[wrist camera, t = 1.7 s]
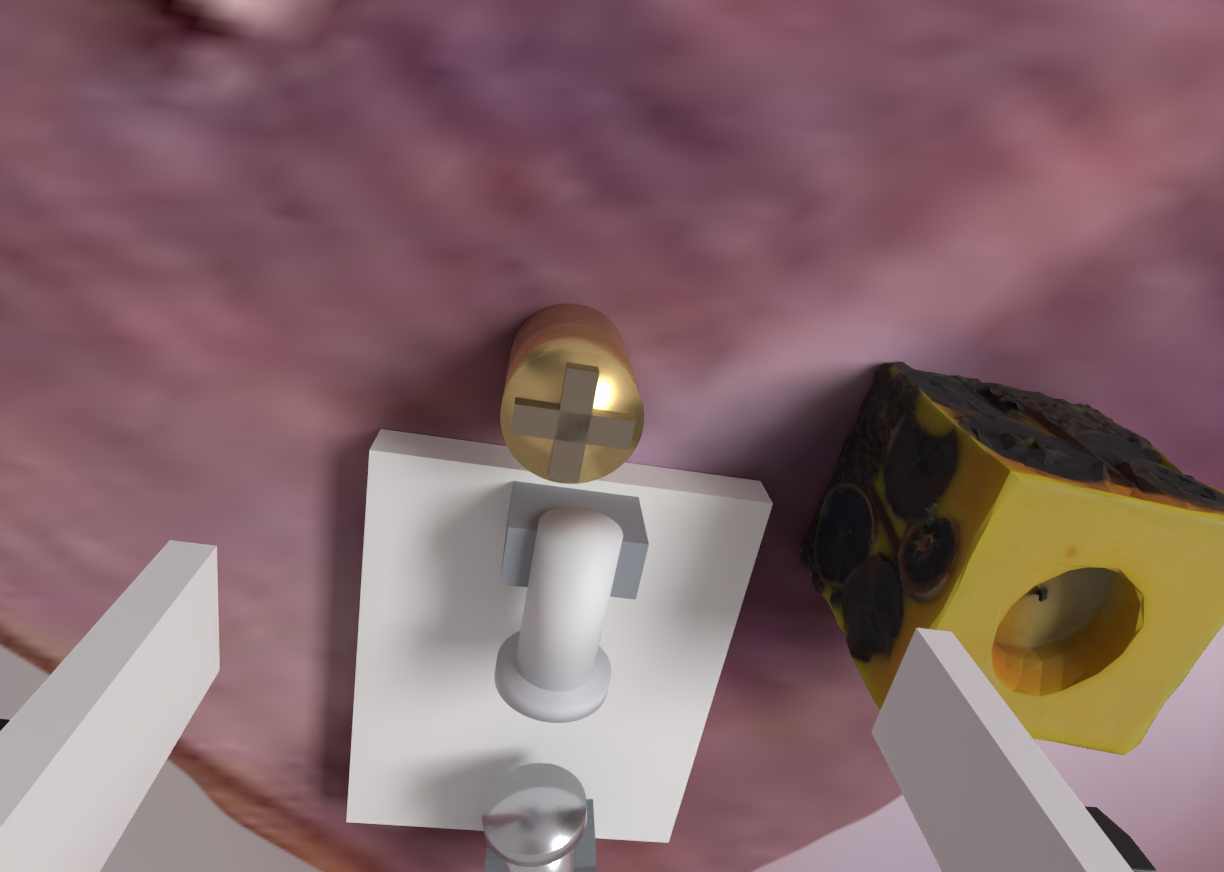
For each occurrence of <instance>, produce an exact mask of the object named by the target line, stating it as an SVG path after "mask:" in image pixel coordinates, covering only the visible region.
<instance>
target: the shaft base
mask: <svg viewBox="0 0 1224 872" xmlns="http://www.w3.org/2000/svg"><path fill="white" fill-rule="evenodd" d="M772 505H773V503H772V501H771V499H770V497H769V496H768V494H767V492H766V490H765V488H764V487H763V485H762V483H761V481H757V480H750V479H743V478H735V477H728V476H721V475H713V474H706V473H699V472H691V471H684V470H677V469H670V468H662V467H655V466H648V465H640V464H633V463H626V462H624V463H623V464H622V465H621V466H620V467H619V468H618V469H616V470H615V471H613V472H612V473H610V474H608V475H606V476H604V477H602V478H600V479H597V480H594V481H590V482H586V483H579V484H565V483H557V482H552V481H549V480H546V479H543V478H541V477H539V476H537V475H535V474H533V473H531V472H530V471H528V470H527V469H526V468H524V467H523V466H522V465H521V464H520V463H519V462H518V461H517V460H516V459H515V458H514V456H513V455H512V454H511V452H510V451H509V449H508V447H507V446H502V445H494V444H487V443H480V442H472V441H465V440H458V439H450V438H443V437H436V436H428V435H421V434H414V433H407V432H399V431H392V430H385V429H380V431H379V433H378V435H377V437H376V439H375V441H374V442H373V444H372V446H371V448H370V450H369V465H368V481H367V497H366V513H365V529H364V546H363V562H362V578H361V594H360V610H359V626H358V643H357V659H356V675H355V691H354V707H353V723H352V739H351V756H350V772H349V788H348V804H347V820H346V822H354V823H369V824H385V825H401V826H416V827H432V828H447V829H463V830H478V831H484V829H483V822H482V805H483V802H484V798H485V796H486V794H487V792H488V791H489V789H490V787H491V786H492V785H493V784H494V783H495V782H496V781H497V780H498V779H499V778H500V777H501V776H502V775H504V774H505V773H507V772H508V771H510V770H512V769H514V768H516V767H519V766H522V765H526V764H532V763H549V764H554V765H557V766H560V767H562V768H564V769H566V770H568V771H570V772H571V773H572V774H573V775H575V776H576V778H577V779H578V780H579V781H580V783H581V784H582V786H583V788H584V791H585V794H586V799H593V808H594V826H595V838H603V839H618V840H634V841H649V842H665V843H669V839H670V836H671V833H672V830H673V826H674V823H675V820H676V817H677V813H678V810H679V807H680V804H681V800H682V797H683V794H684V791H685V787H686V784H687V781H688V778H689V775H690V771H691V768H692V765H693V762H694V758H695V755H696V752H697V749H698V745H699V742H700V739H701V736H702V732H703V729H704V726H705V723H706V719H707V716H708V713H709V710H710V706H711V703H712V700H713V697H714V693H715V690H716V687H717V684H718V680H719V677H720V674H721V671H722V667H723V664H724V661H725V658H726V654H727V651H728V648H729V645H730V641H731V638H732V635H733V632H734V628H735V625H736V622H737V619H738V615H739V612H740V609H741V606H742V602H743V599H744V596H745V593H746V589H747V586H748V583H749V580H750V576H751V573H752V570H753V567H754V563H755V560H756V557H757V554H758V550H759V547H760V544H761V541H762V537H763V534H764V531H765V528H766V524H767V521H768V518H769V515H770V511H771V508H772Z"/></svg>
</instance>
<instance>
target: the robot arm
mask: <svg viewBox="0 0 1224 872" xmlns="http://www.w3.org/2000/svg"><path fill="white" fill-rule="evenodd" d="M219 670H220V667H219V620H218V574H217V546H215V545H206V544H197V543H189V542H180V541H172V540H170V541H169V542H168V543H167V544H166V545H165V546H164V547H163V548H162V550H161V551H160V552H159V553H158V554H157V555H156V556H155V557H154V559H153V560H152V561H151V562H150V563H149V564H148V565H147V566H146V568H145V569H144V570H143V571H142V572H141V573H140V574H139V575H138V577H137V578H136V579H135V580H134V581H133V582H132V583H131V585H130V586H129V587H128V588H127V589H126V590H125V591H124V592H123V594H122V595H121V596H120V597H119V598H118V599H117V600H116V601H115V603H114V604H113V605H112V606H111V607H110V608H109V609H108V610H107V612H106V613H105V614H104V615H103V616H102V617H101V618H100V619H99V621H98V622H97V623H96V624H95V625H94V626H93V627H92V628H91V630H90V631H89V632H88V633H87V634H86V635H85V636H84V637H83V639H82V640H81V641H80V642H79V643H78V644H77V645H76V647H75V648H74V649H73V650H72V651H71V652H70V653H69V654H68V656H67V657H66V658H65V659H64V660H63V661H62V662H61V663H60V665H59V666H58V667H57V668H56V669H55V670H54V671H53V672H52V674H51V675H50V676H49V677H48V678H47V679H46V680H45V682H44V683H43V684H42V685H41V686H40V687H39V688H38V690H37V691H36V692H35V693H34V694H33V695H32V696H31V697H30V698H29V700H28V701H27V702H26V703H25V704H24V705H23V706H22V707H21V709H20V710H19V711H18V712H17V713H16V714H15V715H14V716H13V718H12V719H11V720H6V719H0V872H100V871H101V869H102V867H103V866H104V864H105V862H106V861H107V859H108V857H109V855H110V854H111V852H112V850H113V849H114V847H115V845H116V843H117V842H118V840H119V838H120V837H121V835H122V834H123V832H124V830H125V828H126V827H127V825H128V823H129V822H130V820H131V818H132V817H133V815H134V813H135V812H136V810H137V808H138V807H139V805H140V803H141V801H142V800H143V798H144V797H145V795H146V793H147V791H148V790H149V788H150V786H151V785H152V783H153V781H154V780H155V778H156V776H157V775H158V773H159V771H160V770H161V768H162V766H163V764H164V763H165V761H166V760H167V758H168V756H169V754H170V753H171V751H172V749H173V748H174V746H175V744H176V743H177V741H178V739H179V738H180V736H181V734H182V733H183V731H184V729H185V728H186V726H187V724H188V722H189V721H190V719H191V717H192V716H193V714H194V712H195V711H196V709H197V707H198V706H199V704H200V702H201V701H202V699H203V697H204V696H205V694H206V692H207V690H208V689H209V687H210V685H211V684H212V682H213V680H214V679H215V677H216V675H217V674H218V672H219ZM871 732H872V734H873V736H874V738H875V740H876V742H877V744H878V746H879V748H880V750H881V752H882V754H883V756H884V758H885V760H886V762H887V764H888V766H889V768H890V770H891V772H892V774H893V776H894V778H895V780H896V782H897V784H898V786H899V788H900V790H901V791H902V793H903V795H904V797H905V799H906V801H907V803H908V805H909V807H910V809H911V811H912V813H913V815H914V817H915V819H916V821H917V823H918V825H919V826H920V829H921V831H922V833H923V835H924V837H925V839H926V840H927V843H928V845H929V846H930V849H931V851H932V853H933V855H934V856H935V858H936V860H937V862H938V864H939V866H940V868H941V870H942V872H1155V871H1156V869H1155V868H1154V866H1153V865H1152V864H1151V863H1150V861H1149V860H1148V859H1147V858H1146V856H1145V855H1144V854H1143V853H1142V851H1141V850H1140V849H1139V847H1138V846H1137V845H1136V844H1135V842H1134V841H1133V840H1132V839H1131V837H1130V836H1129V835H1128V834H1126V833H1125V832H1124V831H1123V830H1122V829H1121V828H1119V827H1118V826H1117V825H1116V824H1115V823H1114V822H1113V821H1112V820H1110V819H1109V818H1108V817H1107V816H1106V815H1104V814H1103V813H1102V812H1101V811H1100V810H1099V809H1098V808H1097V807H1085V806H1083V804H1082V803H1081V802H1080V800H1079V799H1078V798H1077V796H1076V795H1075V794H1074V793H1073V791H1072V790H1071V788H1070V787H1069V786H1068V784H1067V783H1066V782H1065V781H1064V779H1063V778H1062V776H1061V775H1060V774H1059V773H1058V771H1057V770H1056V769H1055V767H1054V766H1053V765H1052V763H1051V762H1050V761H1049V759H1048V758H1047V757H1046V755H1045V754H1044V753H1043V752H1042V750H1041V749H1040V748H1039V746H1038V745H1037V744H1036V742H1035V741H1034V740H1033V738H1032V737H1031V736H1030V734H1029V733H1028V732H1027V730H1026V729H1025V728H1024V726H1023V725H1022V724H1021V722H1020V721H1019V720H1018V718H1017V717H1016V716H1015V714H1014V713H1013V712H1012V711H1011V709H1010V708H1009V707H1008V705H1007V704H1006V703H1005V701H1004V700H1003V699H1002V697H1001V696H1000V695H999V693H998V692H997V691H996V689H995V688H994V687H993V685H992V684H991V683H990V682H989V680H988V679H987V678H986V676H985V675H984V674H983V672H982V671H981V670H980V668H979V667H978V666H977V664H976V663H975V662H974V660H973V659H972V658H971V656H970V655H969V654H968V652H967V651H966V650H965V649H964V647H963V646H962V645H961V643H960V642H959V641H958V639H957V638H956V637H955V635H954V634H953V633H952V632H950V631H941V630H933V629H924V628H916V630H915V632H914V634H913V637H912V639H911V641H910V643H909V646H908V648H907V650H906V653H905V655H904V657H903V660H902V662H901V664H900V666H899V669H898V671H897V673H896V676H895V678H894V680H893V683H892V685H891V687H890V690H889V692H888V694H887V696H886V699H885V701H884V703H883V706H882V708H881V710H880V713H879V715H878V717H877V719H876V722H875V724H874V726H873V729H872V731H871Z"/></svg>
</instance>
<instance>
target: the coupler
mask: <svg viewBox="0 0 1224 872" xmlns="http://www.w3.org/2000/svg"><path fill="white" fill-rule="evenodd" d="M500 424H501V430H502V435H503V438H504V441H505V443H506V445H507V447H508V449H509V451H510V452H511V454H512V455H513V456H514V458H515V459H516V460H517V461H518V462H519V463H520V464H521V465H522V466H523V467H524V468H526V469H527V470H528V471H530V472H531V473H533V474H535V475H537V476H539V477H541V478H543V479H546V480H549V481H552V482H557V483H565V484H579V483H586V482H590V481H594V480H597V479H600V478H602V477H604V476H606V475H608V474H610V473H612V472H613V471H615V470H616V469H618V468H619V467H620V466H621V465H622V464H623V463H624V462H625V461H627V459H628V458H629V457H630V456H631V454H632V453H633V451H634V450H635V448H636V447H637V444H638V442H639V440H640V437H641V434H642V431H643V424H644V410H643V404H642V400H641V397H640V393H639V390H638V387H637V383H636V380H635V377H634V373H633V370H632V367H631V363H630V360H629V356H628V353H627V350H626V346H625V343H624V340H623V338H622V336H621V334H620V332H619V331H618V329H617V328H616V326H615V325H614V324H613V323H612V322H611V321H610V320H609V319H608V318H607V317H606V316H604V315H603V314H602V313H600V312H598V311H596V310H594V309H592V308H589V307H587V306H582V305H577V304H560V305H555V306H551V307H548V308H545V309H543V310H541V311H539V312H538V313H536V314H534V315H533V316H532V317H531V318H529V319H528V320H527V321H526V322H525V323H524V324H523V325H522V327H521V328H520V330H519V331H518V333H517V335H516V337H515V339H514V342H513V344H512V349H511V354H510V359H509V365H508V371H507V376H506V382H505V388H504V394H503V399H502V405H501V412H500Z"/></svg>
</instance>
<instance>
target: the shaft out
mask: <svg viewBox="0 0 1224 872" xmlns="http://www.w3.org/2000/svg"><path fill="white" fill-rule="evenodd" d="M482 822H483V829H484V835H485V839H486V841H487V848H486V859H485V869H484V872H597V861H596V843H595V826H594V808H593V799H586V794H585V791H584V788H583V786H582V784H581V783H580V781H579V780H578V779H577V778H576V776H575V775H573V774H572V773H571V772H570V771H568V770H566V769H564V768H562V767H560V766H557V765H554V764H549V763H532V764H526V765H522V766H519V767H516V768H514V769H512V770H510V771H508V772H507V773H505V774H504V775H502V776H501V777H500V778H499V779H498V780H497V781H496V782H495V783H494V784H493V785H492V786H491V787H490V789H489V791H488V792H487V794H486V796H485V798H484V802H483V805H482Z"/></svg>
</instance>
